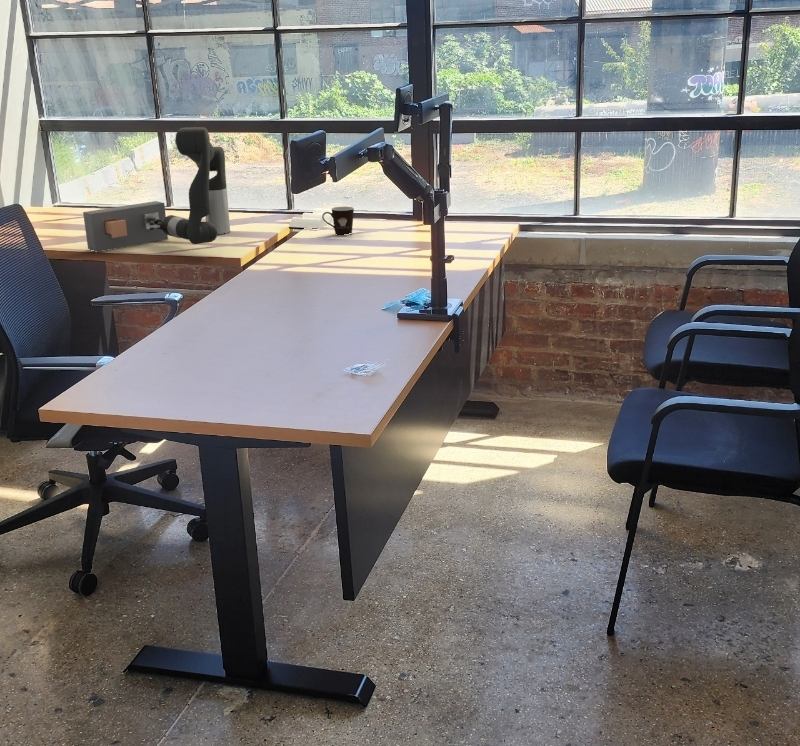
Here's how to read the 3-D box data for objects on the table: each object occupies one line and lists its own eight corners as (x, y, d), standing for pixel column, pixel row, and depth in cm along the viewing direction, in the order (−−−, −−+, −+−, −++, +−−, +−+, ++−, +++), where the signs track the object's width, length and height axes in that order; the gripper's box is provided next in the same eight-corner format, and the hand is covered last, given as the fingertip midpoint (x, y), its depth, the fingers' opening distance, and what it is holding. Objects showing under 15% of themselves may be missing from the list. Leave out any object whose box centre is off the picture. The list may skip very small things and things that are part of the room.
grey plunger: (133, 225, 351) (131, 211, 349) (146, 223, 355) (144, 209, 353) (146, 229, 345) (144, 214, 343) (159, 227, 348) (158, 212, 346)
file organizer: (287, 230, 370) (287, 217, 368) (325, 214, 400) (324, 202, 398) (317, 232, 365) (316, 219, 363) (352, 216, 396) (352, 204, 394)
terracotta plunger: (100, 234, 338) (98, 218, 336) (113, 231, 342) (112, 216, 340) (113, 237, 331) (111, 222, 329) (127, 235, 335) (125, 220, 333)
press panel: (88, 249, 339) (83, 212, 334) (160, 236, 358) (156, 201, 353) (95, 252, 335) (90, 214, 330) (168, 239, 354) (164, 202, 349)
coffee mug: (358, 232, 360) (357, 207, 356) (348, 237, 353) (347, 211, 349) (332, 230, 364) (331, 205, 361) (321, 234, 357) (320, 209, 354)
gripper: (191, 214, 337) (166, 208, 348) (159, 219, 328) (135, 213, 340) (193, 234, 339) (168, 228, 351) (162, 240, 331) (137, 233, 342)
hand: (152, 220), depth 345 cm, fingers closed
